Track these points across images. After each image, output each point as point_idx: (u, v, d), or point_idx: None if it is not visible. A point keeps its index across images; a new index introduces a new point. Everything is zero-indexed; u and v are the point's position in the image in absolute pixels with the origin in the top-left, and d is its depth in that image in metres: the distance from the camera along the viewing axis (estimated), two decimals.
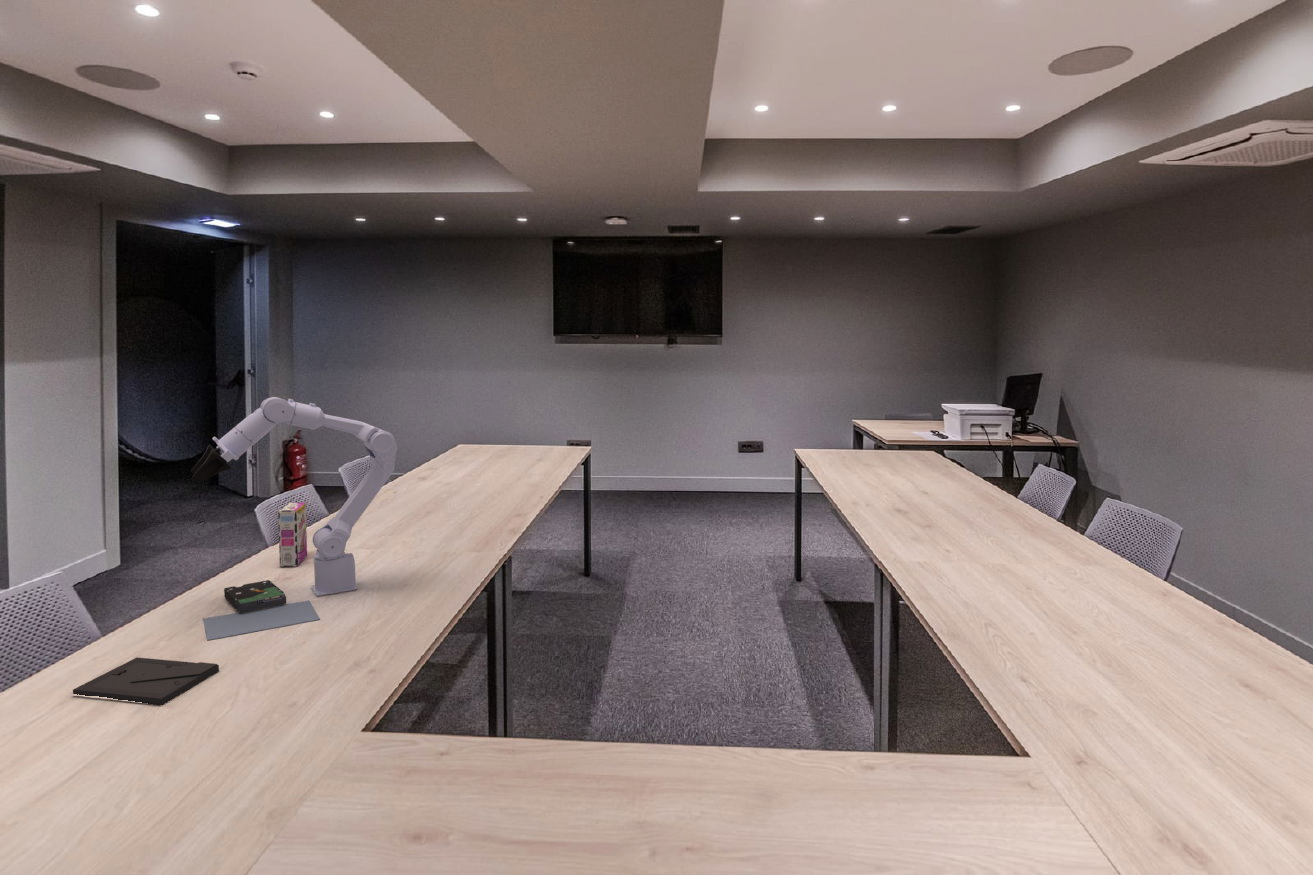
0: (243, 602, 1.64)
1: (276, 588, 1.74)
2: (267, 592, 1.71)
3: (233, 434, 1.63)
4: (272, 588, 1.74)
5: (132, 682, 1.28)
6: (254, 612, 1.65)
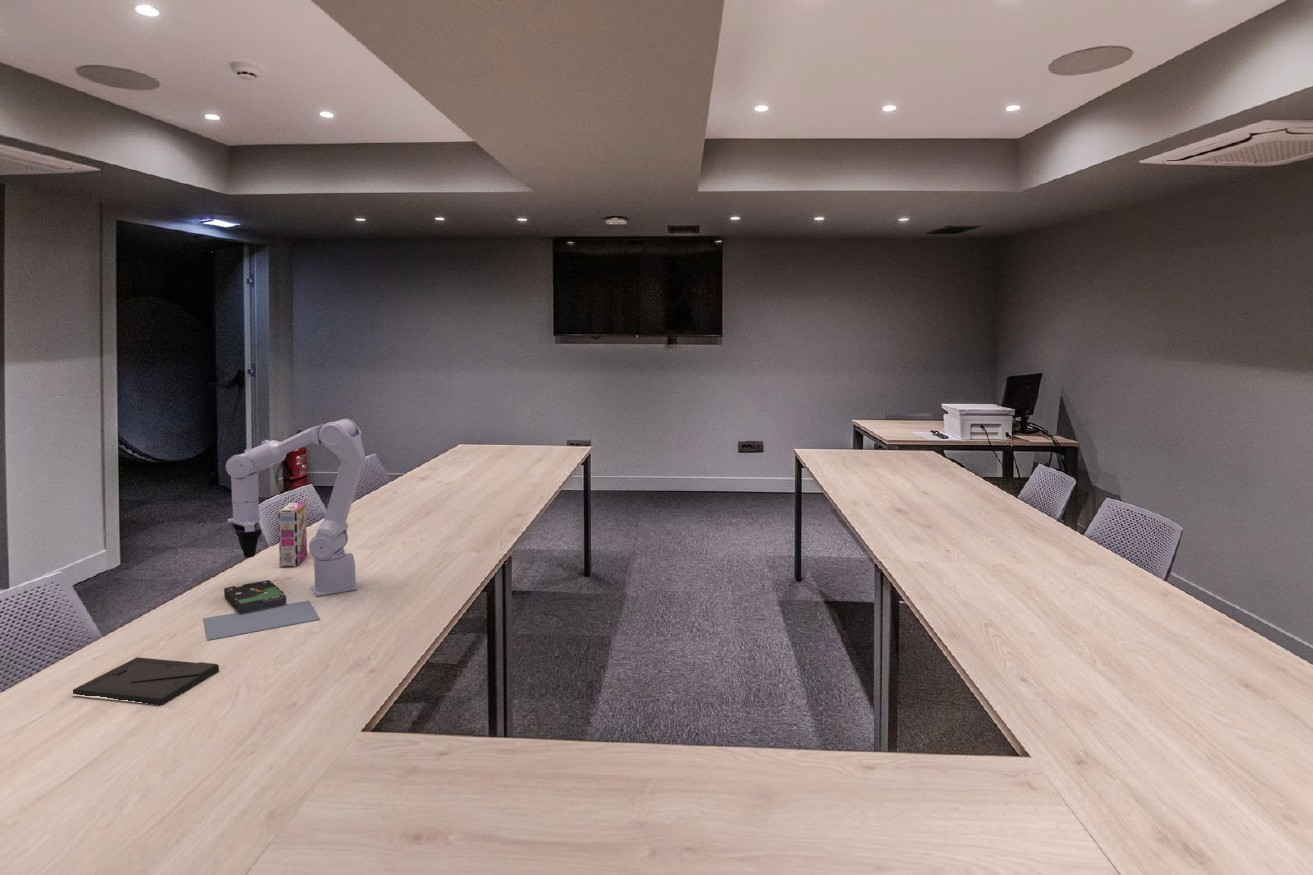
0: (243, 602, 1.64)
1: (276, 588, 1.74)
2: (267, 592, 1.71)
3: (236, 508, 1.75)
4: (272, 588, 1.74)
5: (132, 682, 1.28)
6: (254, 612, 1.65)
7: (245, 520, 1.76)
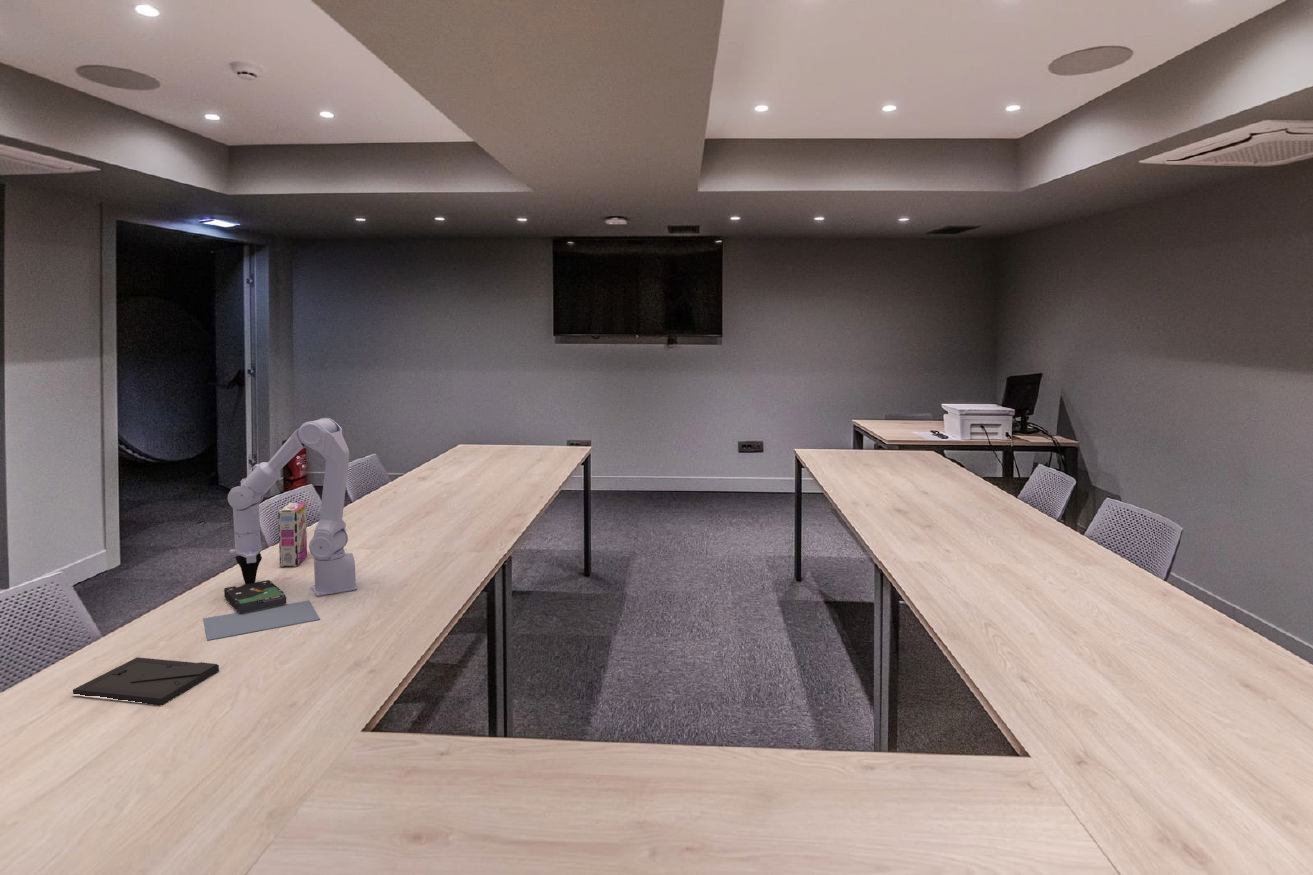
0: (243, 602, 1.64)
1: (276, 588, 1.74)
2: (267, 592, 1.71)
3: (238, 539, 1.76)
4: (272, 588, 1.74)
5: (132, 682, 1.28)
6: (254, 612, 1.65)
7: (247, 551, 1.77)
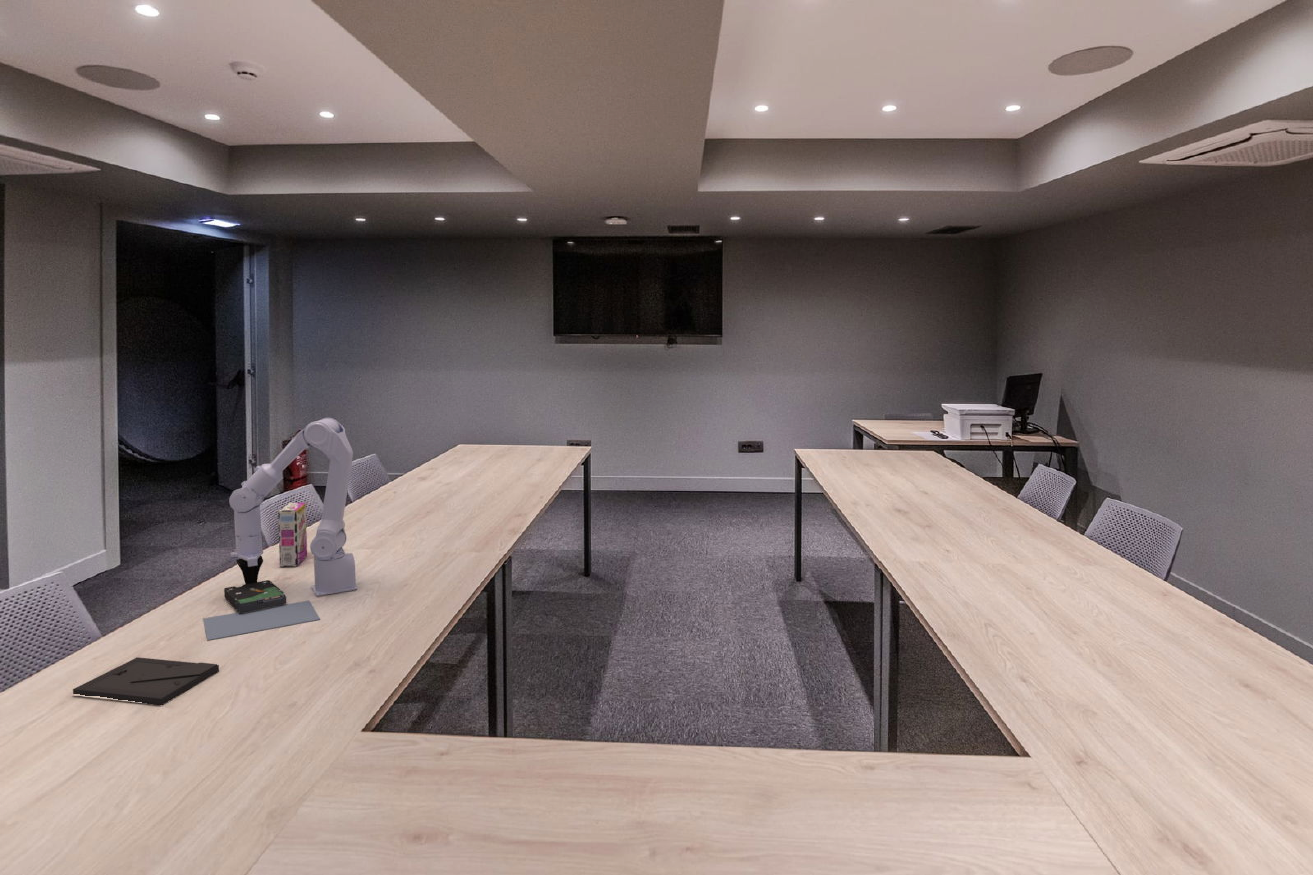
0: (243, 602, 1.64)
1: (276, 588, 1.74)
2: (267, 592, 1.71)
3: (239, 542, 1.74)
4: (272, 588, 1.74)
5: (132, 682, 1.28)
6: (254, 612, 1.65)
7: (248, 554, 1.75)
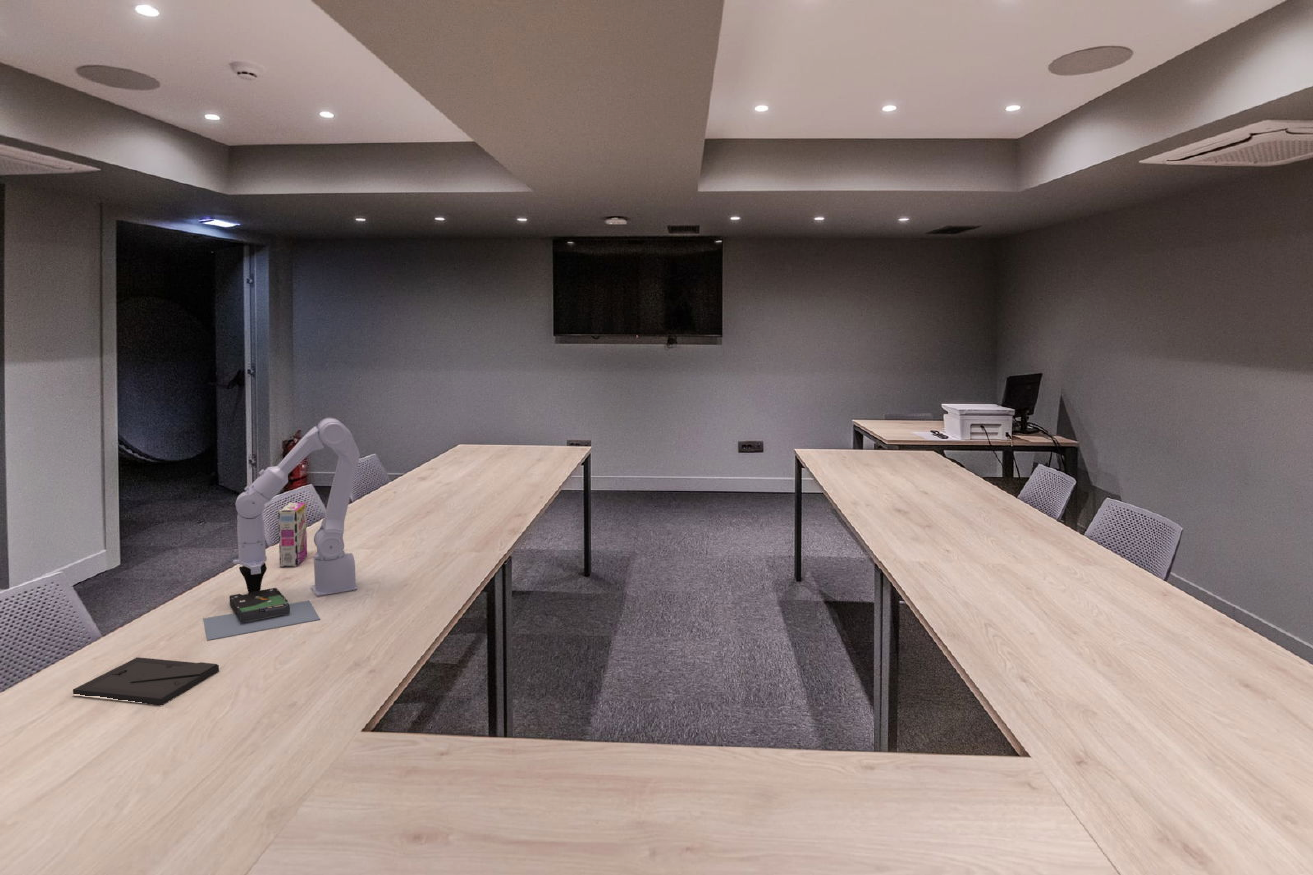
0: (245, 610, 1.58)
1: (281, 596, 1.68)
2: (271, 601, 1.65)
3: (242, 549, 1.69)
4: (277, 596, 1.68)
5: (132, 682, 1.28)
6: None
7: (251, 561, 1.69)
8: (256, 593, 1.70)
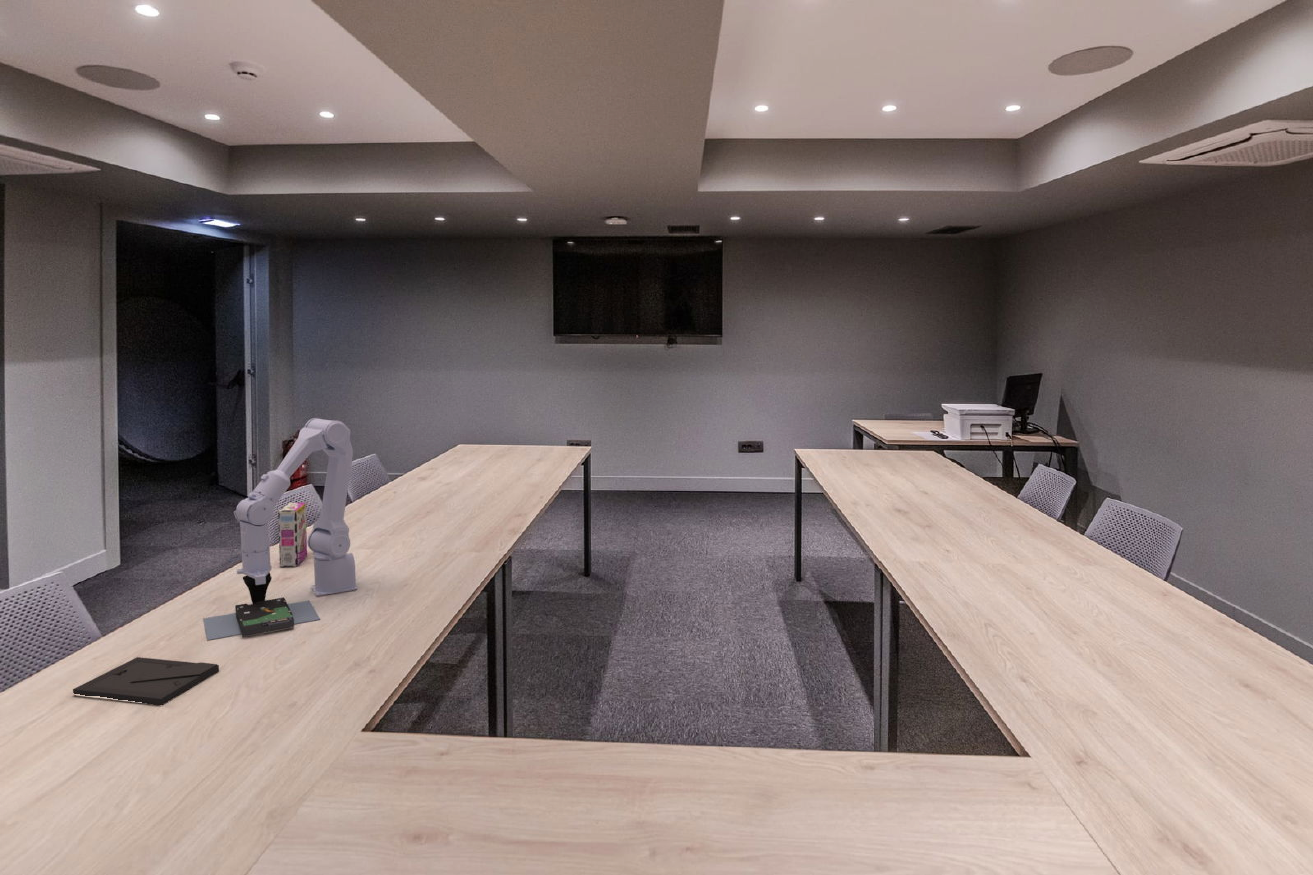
0: (247, 624, 1.52)
1: (287, 608, 1.61)
2: (276, 613, 1.58)
3: (246, 558, 1.62)
4: (283, 608, 1.61)
5: (132, 682, 1.28)
6: None
7: (255, 571, 1.62)
8: (262, 603, 1.64)
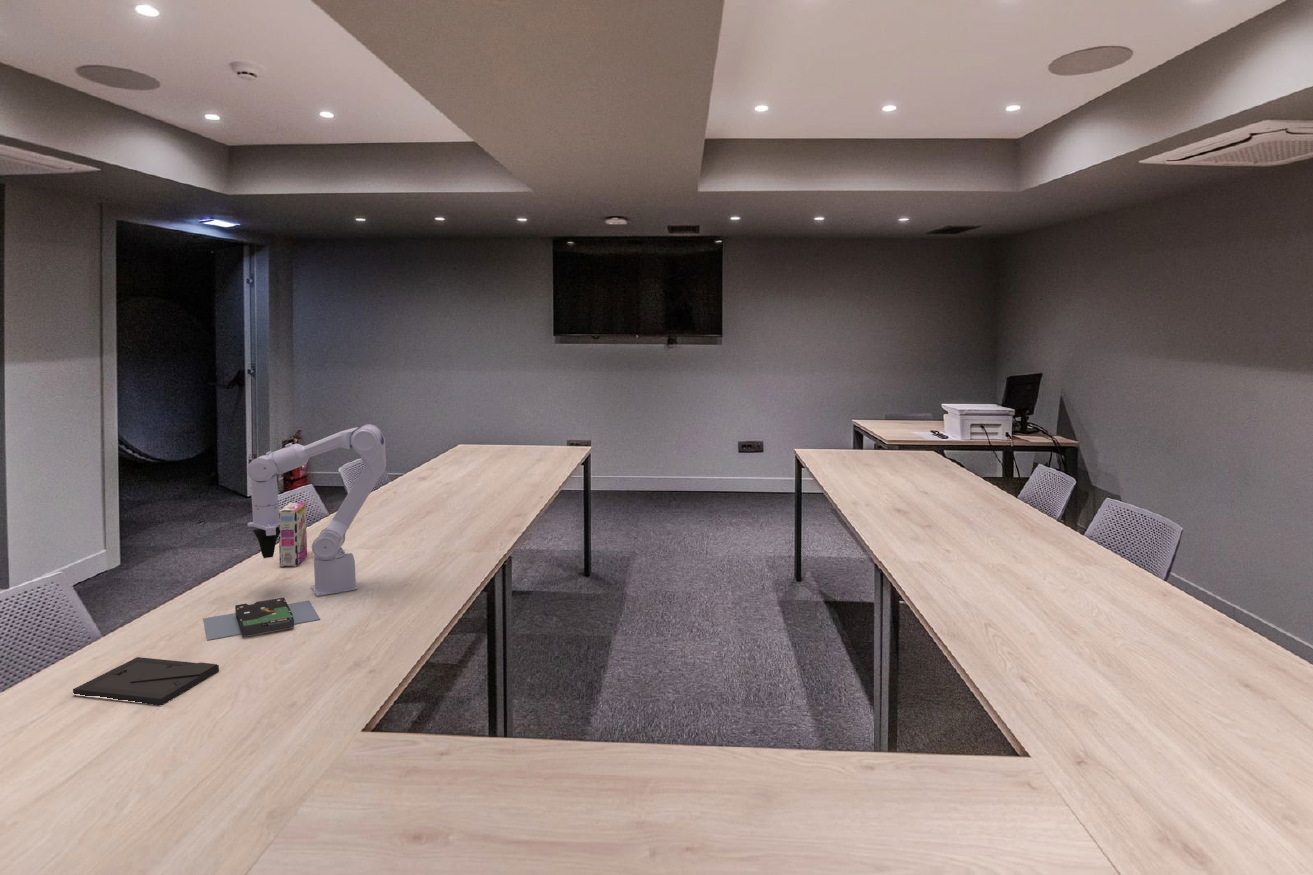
0: (247, 624, 1.52)
1: (287, 608, 1.61)
2: (276, 613, 1.58)
3: (257, 511, 1.73)
4: (283, 608, 1.61)
5: (132, 682, 1.28)
6: None
7: (265, 524, 1.73)
8: (262, 603, 1.64)
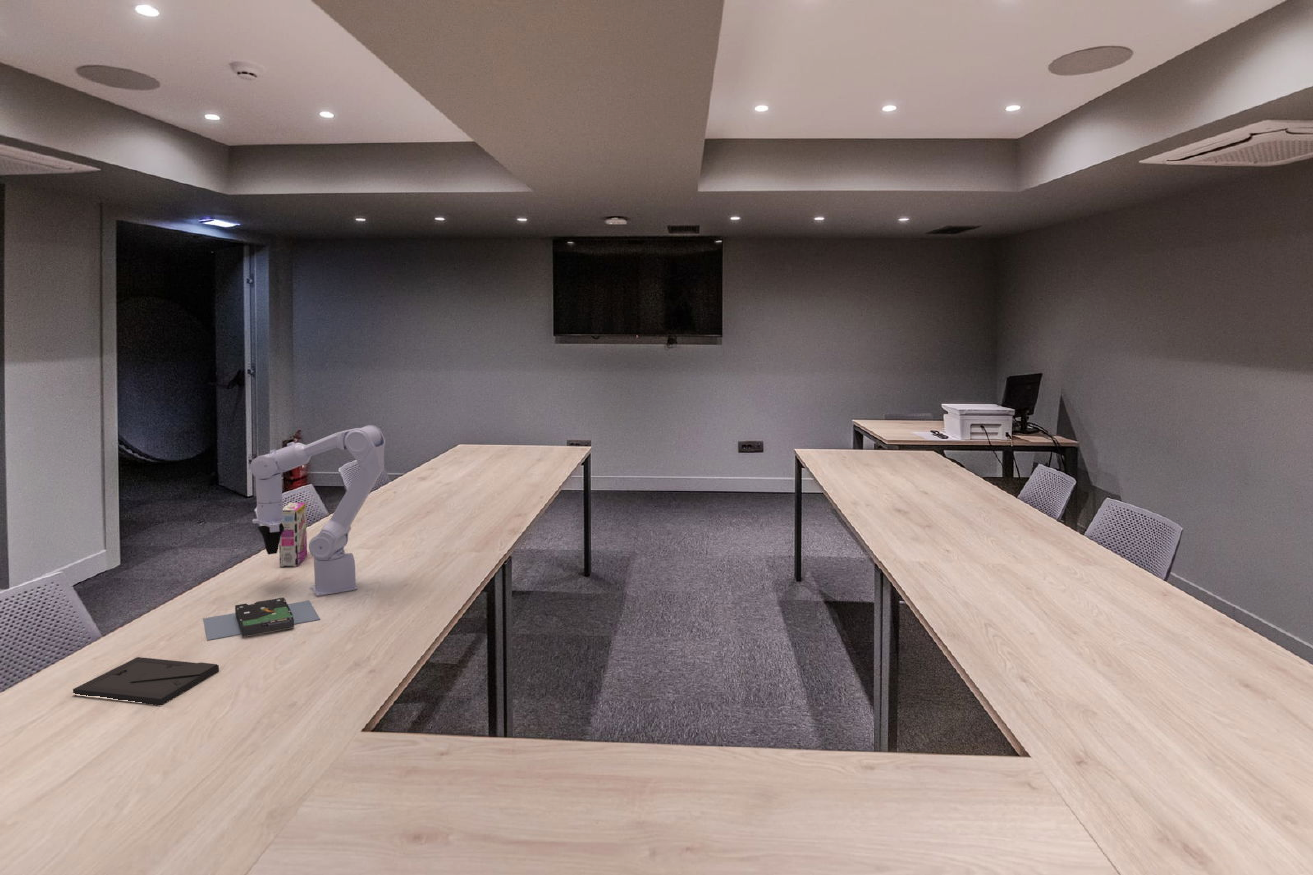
0: (247, 624, 1.52)
1: (287, 608, 1.61)
2: (276, 613, 1.58)
3: (261, 508, 1.76)
4: (283, 608, 1.61)
5: (132, 682, 1.28)
6: None
7: (270, 520, 1.76)
8: (262, 603, 1.64)
